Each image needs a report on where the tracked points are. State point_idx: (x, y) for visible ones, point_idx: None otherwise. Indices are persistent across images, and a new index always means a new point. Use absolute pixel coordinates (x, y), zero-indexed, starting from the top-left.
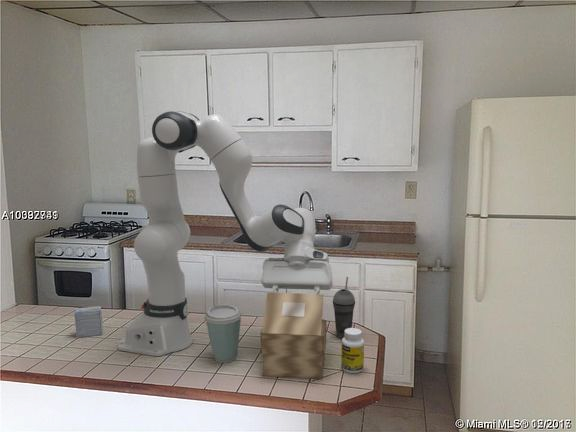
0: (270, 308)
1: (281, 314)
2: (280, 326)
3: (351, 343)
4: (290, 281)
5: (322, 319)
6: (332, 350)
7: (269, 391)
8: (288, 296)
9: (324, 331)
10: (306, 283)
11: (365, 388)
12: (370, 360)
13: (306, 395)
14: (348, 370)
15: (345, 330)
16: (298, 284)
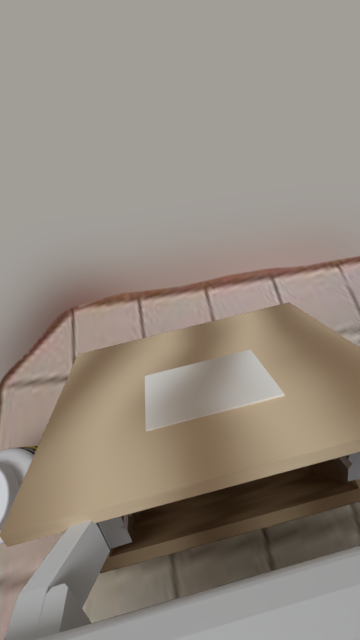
0: (330, 353)
1: (256, 354)
2: (235, 329)
3: (3, 454)
4: (356, 579)
5: (112, 569)
6: (131, 601)
7: (212, 302)
8: (274, 435)
9: None
10: (144, 615)
11: (19, 385)
12: (4, 560)
13: (136, 314)
14: None
15: (4, 497)
16: (242, 579)
